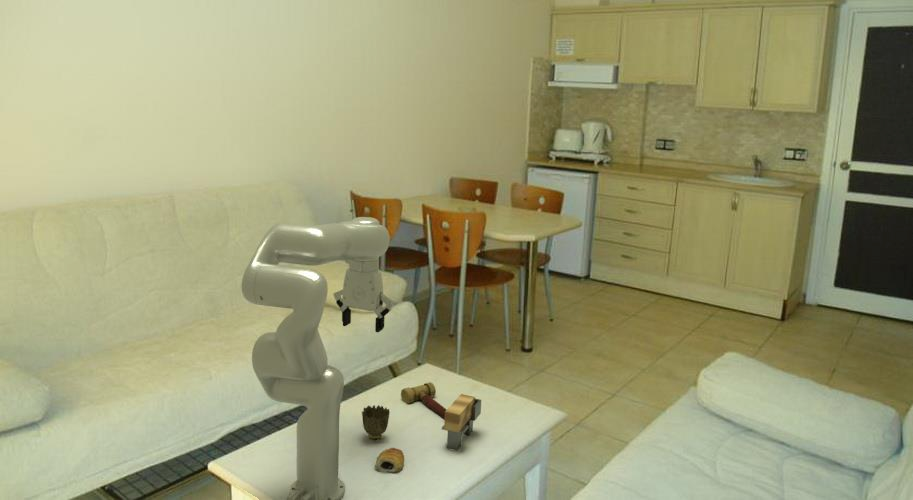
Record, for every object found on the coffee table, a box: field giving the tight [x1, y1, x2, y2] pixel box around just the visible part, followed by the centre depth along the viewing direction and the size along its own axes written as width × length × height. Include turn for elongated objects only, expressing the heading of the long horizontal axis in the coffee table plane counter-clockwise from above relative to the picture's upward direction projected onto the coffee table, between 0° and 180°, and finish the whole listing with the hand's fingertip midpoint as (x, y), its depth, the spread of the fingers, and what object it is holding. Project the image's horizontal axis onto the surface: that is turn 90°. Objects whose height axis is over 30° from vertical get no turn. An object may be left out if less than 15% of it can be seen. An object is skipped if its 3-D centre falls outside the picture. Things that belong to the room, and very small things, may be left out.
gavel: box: [400, 381, 447, 420], centre depth 211 cm, size 21×5×10 cm
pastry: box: [374, 447, 405, 473], centre depth 180 cm, size 9×7×4 cm
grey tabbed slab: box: [441, 425, 468, 452], centre depth 190 cm, size 4×6×6 cm, turn 69°
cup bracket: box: [462, 398, 482, 437], centre depth 197 cm, size 5×6×10 cm
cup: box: [361, 404, 391, 441], centre depth 192 cm, size 8×7×8 cm
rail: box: [443, 393, 476, 432], centre depth 191 cm, size 12×4×5 cm, turn 159°
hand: (362, 327), depth 188 cm, fingers open, 9 cm apart
